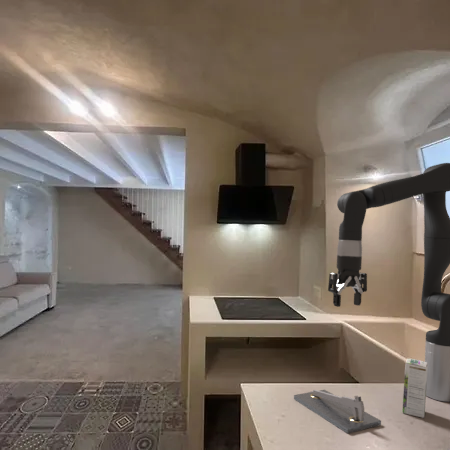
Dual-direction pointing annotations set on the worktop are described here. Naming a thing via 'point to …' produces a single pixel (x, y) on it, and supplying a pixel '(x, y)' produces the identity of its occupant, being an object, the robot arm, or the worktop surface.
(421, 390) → the syrup box
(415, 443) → the worktop surface
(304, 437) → the worktop surface
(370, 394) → the worktop surface
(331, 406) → the hole plate
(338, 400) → the caliper
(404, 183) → the robot arm
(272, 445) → the worktop surface
